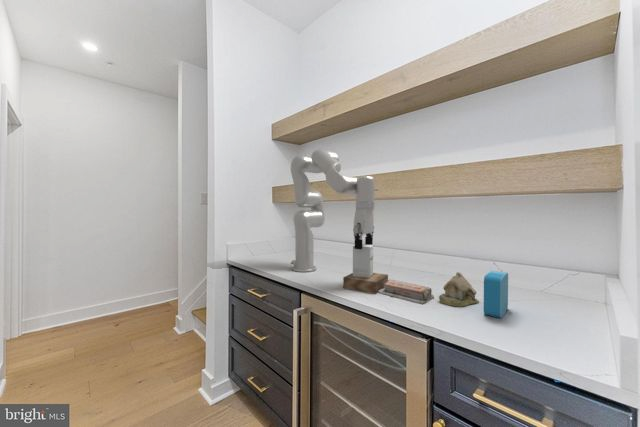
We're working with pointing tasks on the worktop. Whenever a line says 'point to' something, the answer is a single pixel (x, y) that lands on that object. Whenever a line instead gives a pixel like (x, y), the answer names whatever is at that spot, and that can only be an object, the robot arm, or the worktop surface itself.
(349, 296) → the worktop surface
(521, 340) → the worktop surface
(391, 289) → the packaged product
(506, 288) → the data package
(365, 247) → the supplement box
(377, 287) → the walnut block
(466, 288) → the ceramic model
